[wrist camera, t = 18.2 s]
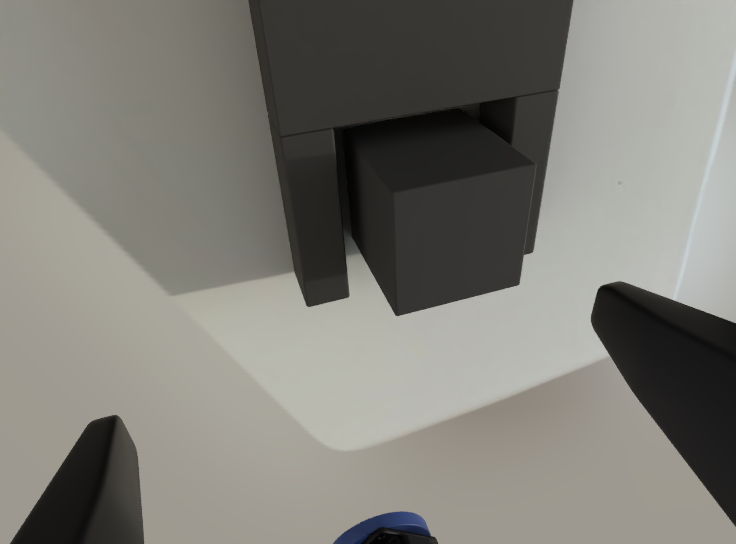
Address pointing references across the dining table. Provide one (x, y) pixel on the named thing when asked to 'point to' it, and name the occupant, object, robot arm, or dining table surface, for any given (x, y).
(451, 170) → the pad block
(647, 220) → the dining table surface
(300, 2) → the base pad
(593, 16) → the dining table surface
